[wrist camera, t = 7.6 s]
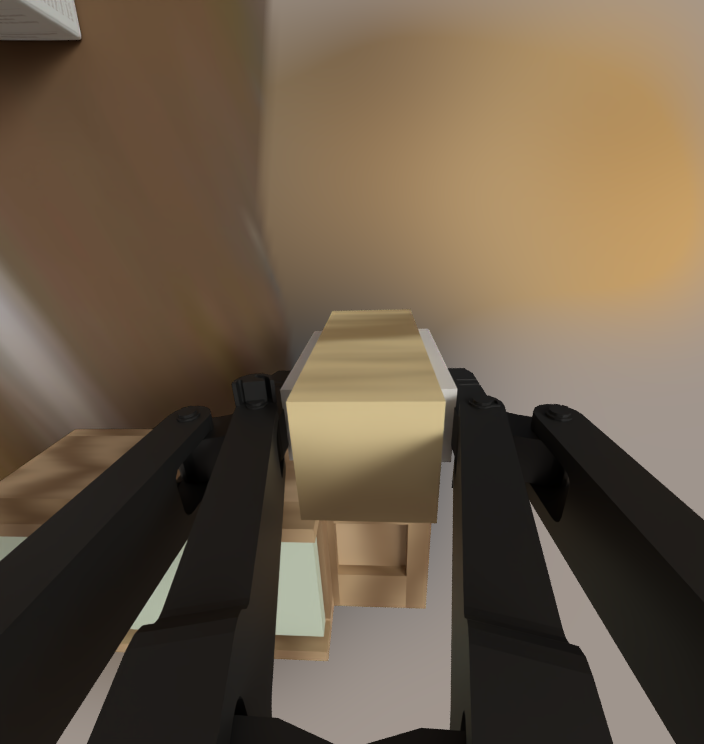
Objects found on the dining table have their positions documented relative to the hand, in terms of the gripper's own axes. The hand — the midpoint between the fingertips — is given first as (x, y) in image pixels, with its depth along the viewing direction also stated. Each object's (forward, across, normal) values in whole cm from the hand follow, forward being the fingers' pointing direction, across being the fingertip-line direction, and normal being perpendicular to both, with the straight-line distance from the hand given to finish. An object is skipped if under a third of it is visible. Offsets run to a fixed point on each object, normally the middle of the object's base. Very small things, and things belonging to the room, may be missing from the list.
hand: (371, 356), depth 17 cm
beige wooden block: (+2, 0, 0) cm, 2 cm away
